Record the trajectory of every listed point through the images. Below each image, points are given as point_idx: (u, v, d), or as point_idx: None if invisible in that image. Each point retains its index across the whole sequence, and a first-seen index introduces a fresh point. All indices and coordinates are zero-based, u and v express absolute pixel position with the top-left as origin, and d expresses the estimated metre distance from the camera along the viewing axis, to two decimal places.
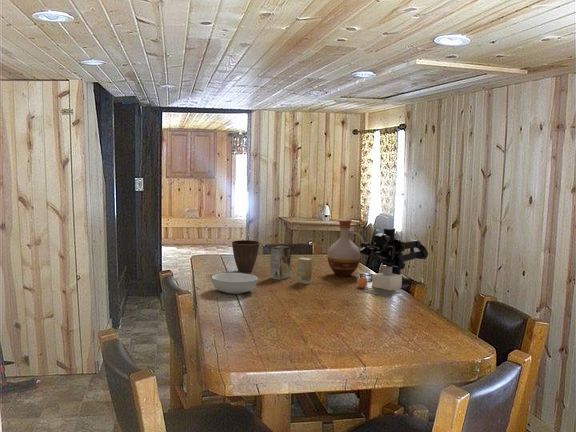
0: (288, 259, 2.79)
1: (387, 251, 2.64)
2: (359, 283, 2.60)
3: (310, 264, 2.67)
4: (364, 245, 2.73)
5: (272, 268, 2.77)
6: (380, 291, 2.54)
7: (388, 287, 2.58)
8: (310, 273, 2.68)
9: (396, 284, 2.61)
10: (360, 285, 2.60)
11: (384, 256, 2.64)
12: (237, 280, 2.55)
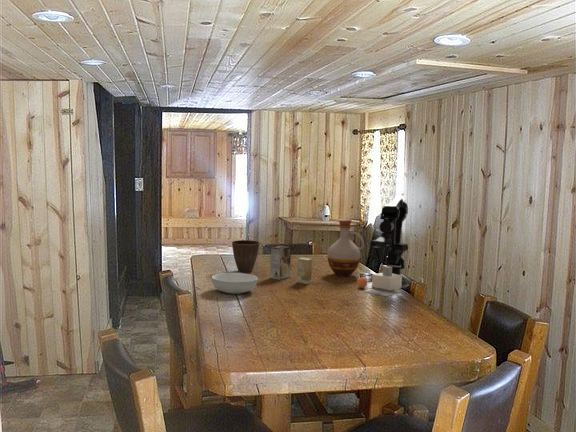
0: (288, 259, 2.79)
1: (400, 251, 2.58)
2: (359, 283, 2.60)
3: (310, 264, 2.67)
4: (375, 249, 2.66)
5: (272, 268, 2.77)
6: (380, 291, 2.54)
7: (388, 287, 2.58)
8: (310, 273, 2.68)
9: (396, 284, 2.61)
10: (360, 285, 2.60)
11: (401, 253, 2.60)
12: (237, 280, 2.55)
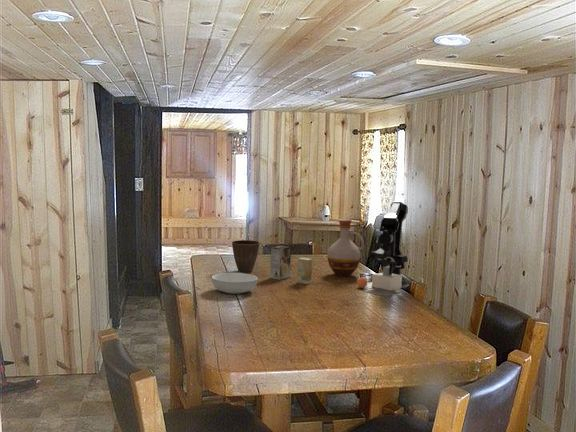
0: (288, 259, 2.79)
1: None
2: (359, 283, 2.60)
3: (310, 264, 2.67)
4: (379, 261, 2.65)
5: (272, 268, 2.77)
6: (380, 291, 2.54)
7: (388, 287, 2.58)
8: (310, 273, 2.68)
9: (396, 284, 2.61)
10: (360, 285, 2.60)
11: (395, 264, 2.63)
12: (237, 280, 2.55)
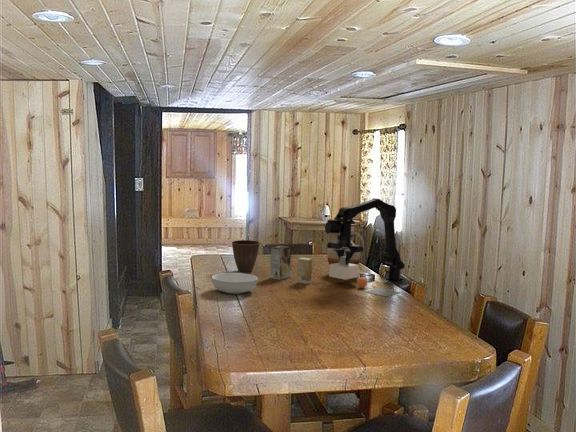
0: (288, 259, 2.79)
1: (350, 252, 2.65)
2: (359, 283, 2.60)
3: (310, 264, 2.67)
4: (336, 251, 2.69)
5: (272, 268, 2.77)
6: (380, 291, 2.54)
7: (344, 276, 2.63)
8: (310, 273, 2.68)
9: (352, 273, 2.66)
10: (360, 285, 2.60)
11: (352, 254, 2.67)
12: (237, 280, 2.55)
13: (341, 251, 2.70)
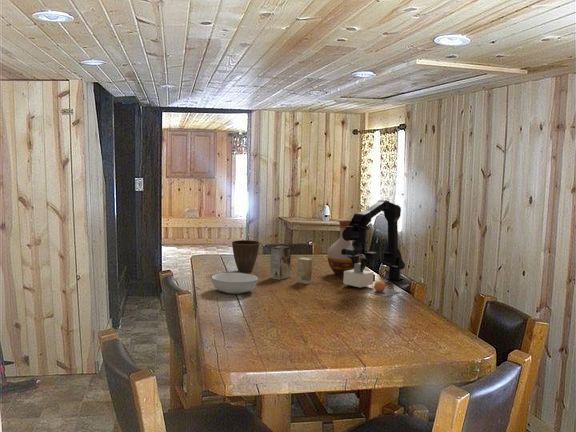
0: (288, 259, 2.79)
1: None
2: (376, 286, 2.53)
3: (310, 264, 2.67)
4: (350, 258, 2.63)
5: (272, 268, 2.77)
6: None
7: (359, 284, 2.56)
8: (310, 273, 2.68)
9: (367, 281, 2.60)
10: (377, 284, 2.52)
11: (367, 261, 2.61)
12: (237, 280, 2.55)
13: (356, 258, 2.64)
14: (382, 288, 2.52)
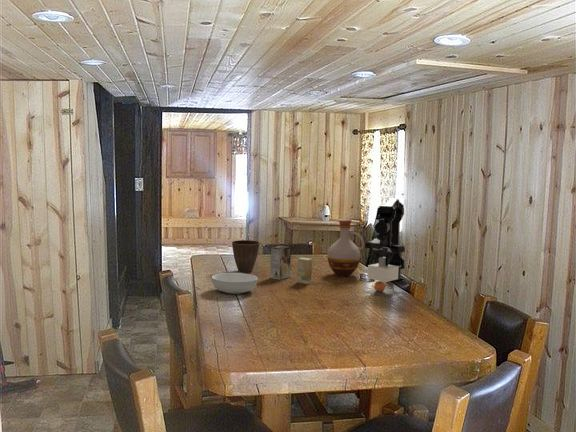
0: (288, 259, 2.79)
1: (391, 253, 2.48)
2: (376, 286, 2.53)
3: (310, 264, 2.67)
4: (375, 251, 2.53)
5: (272, 268, 2.77)
6: None
7: (384, 278, 2.46)
8: (310, 273, 2.68)
9: (392, 275, 2.49)
10: (377, 284, 2.52)
11: (392, 254, 2.51)
12: (237, 280, 2.55)
13: (380, 251, 2.54)
14: (382, 288, 2.52)
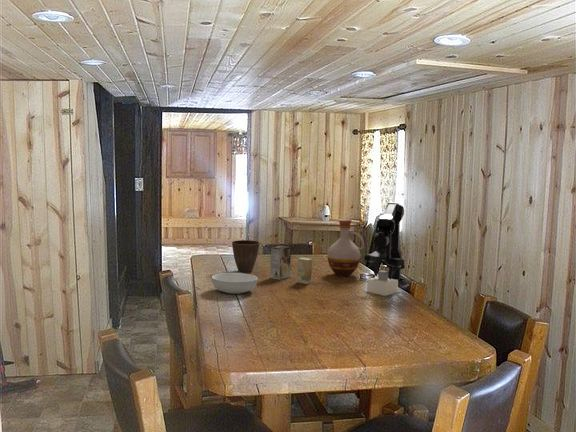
0: (288, 259, 2.79)
1: None
2: None
3: (310, 264, 2.67)
4: None
5: (272, 268, 2.77)
6: None
7: (383, 292, 2.47)
8: (310, 273, 2.68)
9: (392, 289, 2.50)
10: None
11: (395, 268, 2.50)
12: (237, 280, 2.55)
13: (376, 263, 2.56)
14: None
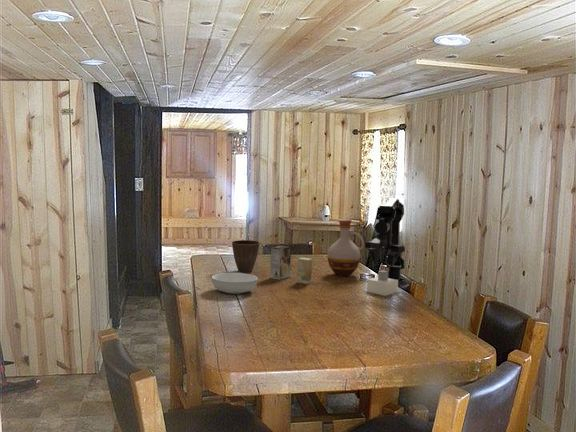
0: (288, 259, 2.79)
1: (396, 253, 2.46)
2: None
3: (310, 264, 2.67)
4: (370, 251, 2.55)
5: (272, 268, 2.77)
6: None
7: (383, 292, 2.47)
8: (310, 273, 2.68)
9: (392, 289, 2.50)
10: None
11: (397, 255, 2.49)
12: (237, 280, 2.55)
13: (375, 250, 2.55)
14: None
